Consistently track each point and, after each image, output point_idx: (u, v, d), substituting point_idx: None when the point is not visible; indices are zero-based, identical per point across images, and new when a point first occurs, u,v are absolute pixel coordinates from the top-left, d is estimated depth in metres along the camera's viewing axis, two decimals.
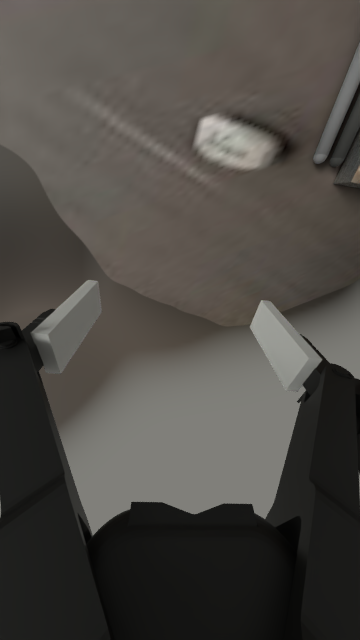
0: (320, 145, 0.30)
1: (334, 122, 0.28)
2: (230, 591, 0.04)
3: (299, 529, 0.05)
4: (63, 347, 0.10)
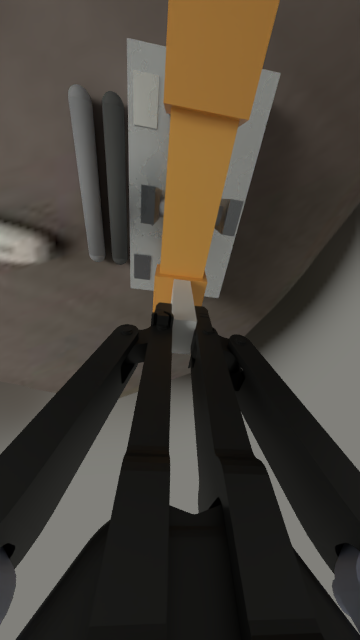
0: (88, 245, 0.24)
1: (87, 224, 0.22)
2: (229, 591, 0.04)
3: None
4: None
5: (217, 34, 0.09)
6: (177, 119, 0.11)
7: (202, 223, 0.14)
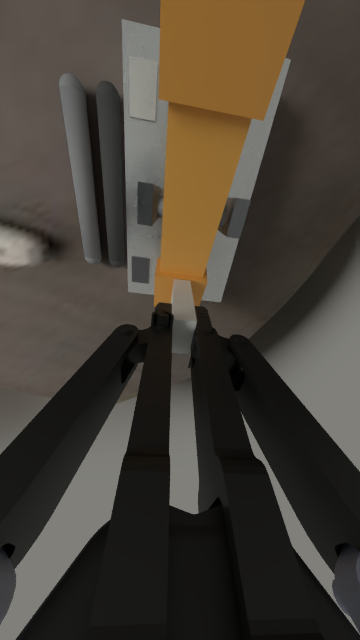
0: (83, 246, 0.23)
1: (81, 224, 0.21)
2: (230, 591, 0.04)
3: None
4: None
5: (229, 3, 0.06)
6: (176, 114, 0.09)
7: (204, 227, 0.13)
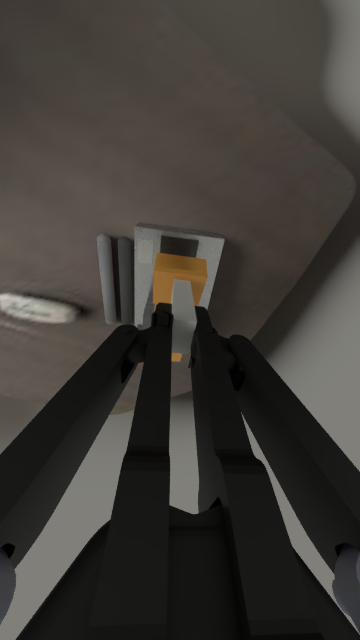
0: None
1: (105, 304, 0.32)
2: (230, 591, 0.04)
3: None
4: None
5: None
6: None
7: None
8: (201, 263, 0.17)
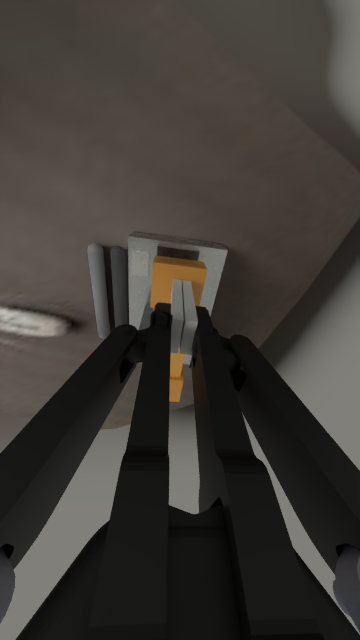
0: (97, 328, 0.32)
1: (97, 317, 0.30)
2: (229, 591, 0.04)
3: None
4: None
5: None
6: None
7: None
8: (199, 263, 0.18)
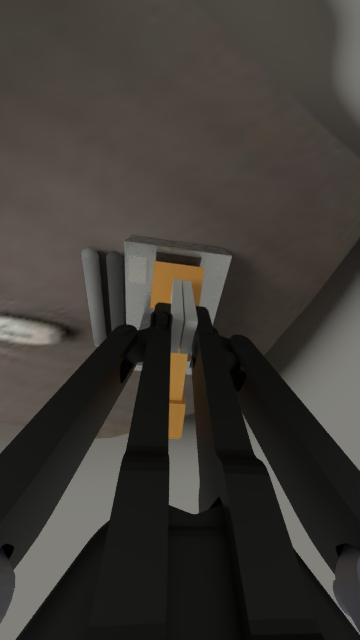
0: (93, 337, 0.30)
1: (93, 326, 0.28)
2: (230, 591, 0.04)
3: None
4: None
5: None
6: None
7: (177, 362, 0.20)
8: None
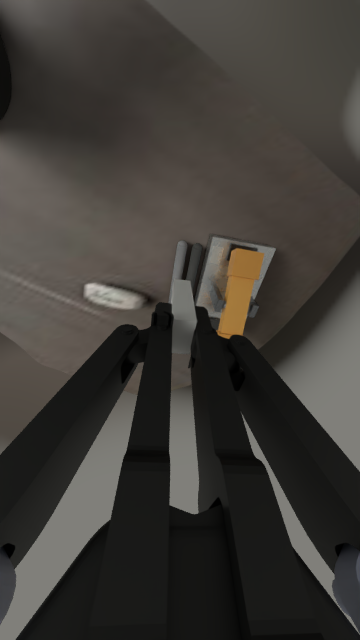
0: None
1: None
2: (229, 591, 0.04)
3: None
4: None
5: (247, 262, 0.31)
6: (234, 278, 0.32)
7: (242, 310, 0.33)
8: None
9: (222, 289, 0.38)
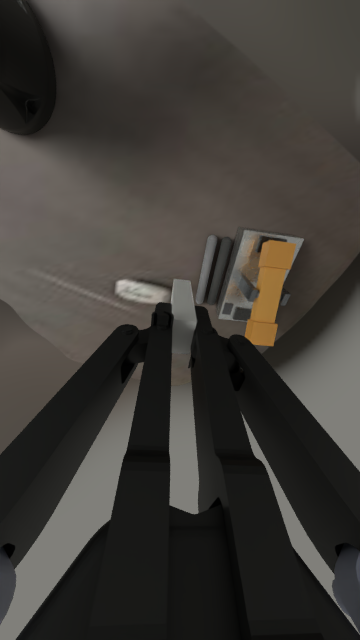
0: (196, 296, 0.45)
1: (200, 287, 0.43)
2: (230, 592, 0.04)
3: None
4: None
5: (280, 253, 0.33)
6: (267, 269, 0.34)
7: (274, 299, 0.35)
8: None
9: (250, 280, 0.40)
